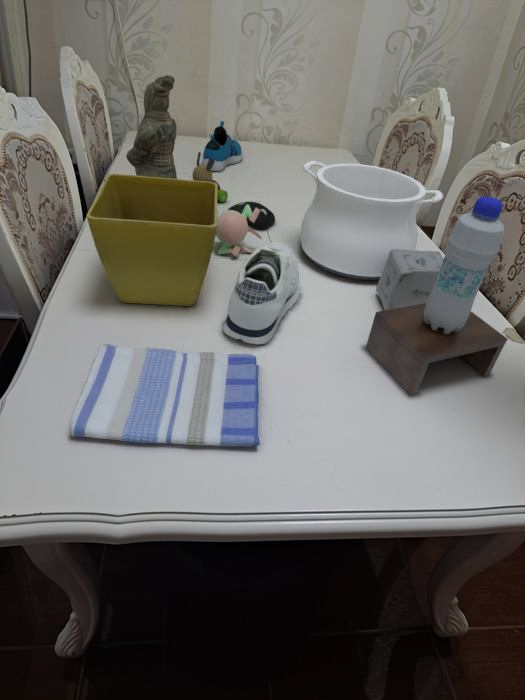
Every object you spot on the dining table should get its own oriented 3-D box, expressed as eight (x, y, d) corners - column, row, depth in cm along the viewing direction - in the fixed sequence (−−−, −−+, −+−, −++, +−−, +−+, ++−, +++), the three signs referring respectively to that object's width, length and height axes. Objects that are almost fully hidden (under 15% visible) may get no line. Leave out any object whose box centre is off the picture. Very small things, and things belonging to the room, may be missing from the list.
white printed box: (386, 318, 88) (402, 267, 82) (373, 294, 95) (387, 245, 88) (437, 319, 90) (456, 269, 83) (421, 295, 96) (437, 247, 90)
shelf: (489, 374, 78) (507, 338, 74) (410, 396, 72) (425, 358, 67) (440, 332, 86) (453, 298, 82) (365, 348, 80) (375, 311, 76)
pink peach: (275, 222, 102) (249, 212, 108) (246, 197, 95) (220, 187, 101) (245, 271, 103) (221, 258, 109) (214, 250, 96) (190, 237, 102)
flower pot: (212, 319, 82) (217, 225, 72) (96, 313, 80) (84, 216, 70) (213, 265, 97) (217, 181, 87) (116, 259, 95) (108, 173, 85)
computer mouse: (235, 209, 122) (236, 193, 119) (278, 222, 118) (280, 206, 115) (219, 218, 116) (220, 202, 114) (263, 232, 112) (265, 216, 110)
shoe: (248, 154, 160) (251, 115, 153) (225, 174, 142) (227, 130, 134) (222, 149, 161) (224, 110, 154) (195, 168, 143) (196, 125, 136)
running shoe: (304, 271, 99) (314, 216, 92) (286, 355, 76) (296, 292, 69) (251, 262, 100) (257, 207, 93) (217, 343, 77) (221, 278, 70)
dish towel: (101, 353, 72) (99, 337, 71) (259, 365, 74) (261, 350, 72) (63, 441, 59) (60, 425, 57) (258, 454, 60) (260, 438, 58)
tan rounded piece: (229, 201, 126) (232, 156, 119) (204, 208, 120) (206, 162, 113) (205, 190, 130) (206, 146, 123) (180, 196, 125) (180, 151, 118)
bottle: (469, 340, 72) (527, 210, 60) (425, 336, 72) (474, 204, 60) (455, 315, 77) (506, 191, 65) (414, 311, 77) (458, 186, 65)
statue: (152, 209, 116) (147, 66, 98) (186, 220, 113) (187, 74, 95) (122, 225, 108) (110, 71, 90) (157, 236, 105) (152, 80, 87)
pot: (271, 260, 101) (281, 176, 91) (312, 223, 120) (325, 149, 109) (404, 302, 93) (432, 215, 83) (426, 255, 112) (452, 179, 101)
